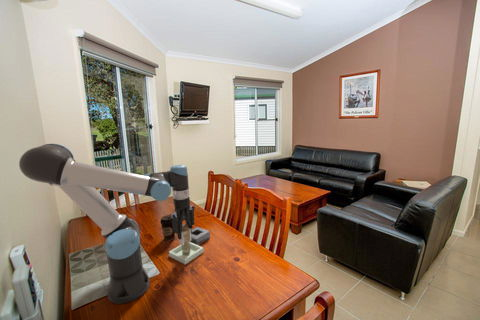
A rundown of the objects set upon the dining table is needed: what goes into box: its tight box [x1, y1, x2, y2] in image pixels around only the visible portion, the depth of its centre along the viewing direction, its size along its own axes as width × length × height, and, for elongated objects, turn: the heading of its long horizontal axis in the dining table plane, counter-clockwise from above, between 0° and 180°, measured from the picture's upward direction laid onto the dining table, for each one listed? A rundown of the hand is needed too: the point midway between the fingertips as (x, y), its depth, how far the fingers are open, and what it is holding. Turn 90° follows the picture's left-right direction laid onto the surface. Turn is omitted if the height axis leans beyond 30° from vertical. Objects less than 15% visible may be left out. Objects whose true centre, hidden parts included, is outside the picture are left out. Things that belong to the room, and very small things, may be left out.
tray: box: [168, 242, 205, 266], centre depth 114 cm, size 12×12×2 cm
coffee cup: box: [159, 214, 177, 242], centre depth 129 cm, size 9×8×13 cm
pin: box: [182, 223, 190, 254], centre depth 113 cm, size 4×4×14 cm
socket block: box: [190, 226, 211, 246], centre depth 128 cm, size 10×10×4 cm
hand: (185, 242), depth 113 cm, fingers closed on pin, 4 cm apart
